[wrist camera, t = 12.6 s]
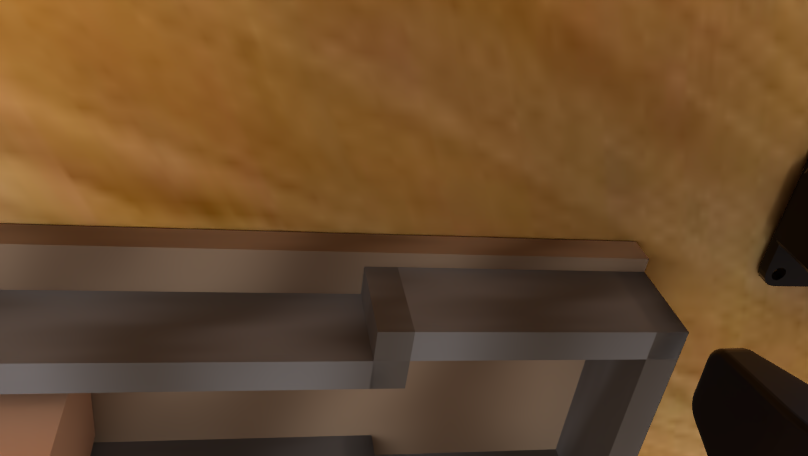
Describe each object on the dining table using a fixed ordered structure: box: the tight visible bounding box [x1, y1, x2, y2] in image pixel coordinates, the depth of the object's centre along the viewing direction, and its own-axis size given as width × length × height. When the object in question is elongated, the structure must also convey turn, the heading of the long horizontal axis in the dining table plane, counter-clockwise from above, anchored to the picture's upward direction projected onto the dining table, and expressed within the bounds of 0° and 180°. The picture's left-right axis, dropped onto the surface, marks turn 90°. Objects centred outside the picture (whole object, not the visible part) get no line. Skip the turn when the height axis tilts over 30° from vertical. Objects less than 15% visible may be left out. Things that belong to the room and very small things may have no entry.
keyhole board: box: [0, 224, 689, 456], centre depth 23 cm, size 22×10×4 cm, turn 82°
